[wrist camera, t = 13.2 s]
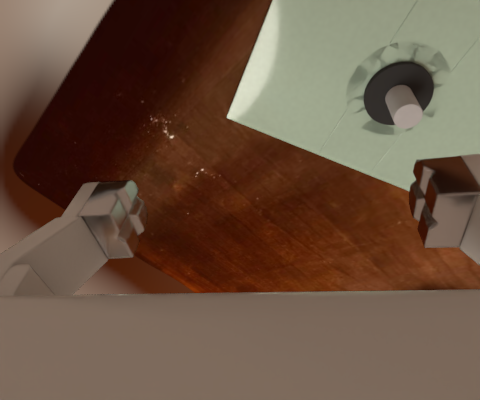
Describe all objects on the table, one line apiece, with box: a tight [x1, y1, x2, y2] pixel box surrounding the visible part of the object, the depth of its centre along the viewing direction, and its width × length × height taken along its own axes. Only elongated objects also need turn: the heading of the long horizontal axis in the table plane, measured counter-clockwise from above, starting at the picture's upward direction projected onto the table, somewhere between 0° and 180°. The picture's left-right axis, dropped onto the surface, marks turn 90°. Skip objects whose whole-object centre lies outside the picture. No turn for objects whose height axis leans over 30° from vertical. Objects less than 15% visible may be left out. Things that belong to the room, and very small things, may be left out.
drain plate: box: [226, 0, 480, 191], centre depth 30 cm, size 24×16×2 cm, turn 69°
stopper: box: [364, 61, 434, 129], centre depth 28 cm, size 5×5×6 cm
